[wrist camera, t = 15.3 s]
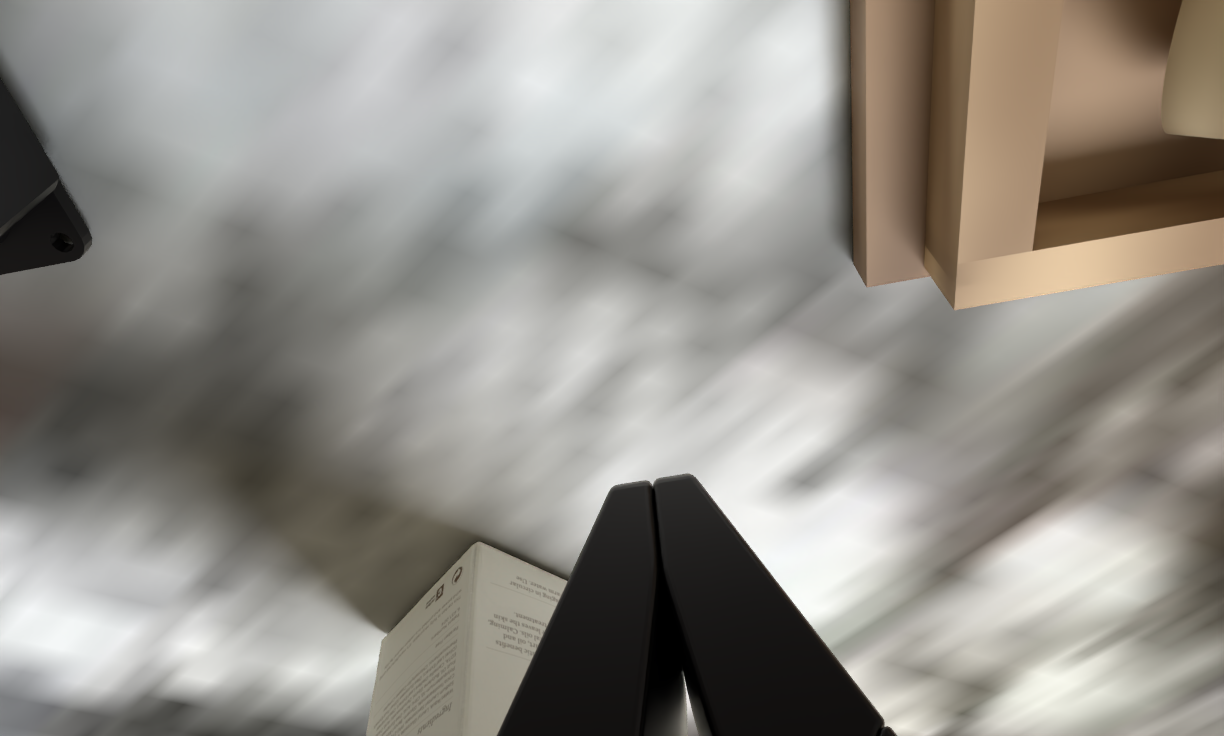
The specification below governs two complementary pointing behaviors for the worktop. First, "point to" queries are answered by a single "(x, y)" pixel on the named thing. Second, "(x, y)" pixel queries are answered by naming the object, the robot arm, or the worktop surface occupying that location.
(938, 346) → the worktop surface
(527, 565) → the skincare box
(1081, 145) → the cradle
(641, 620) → the robot arm
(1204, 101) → the peg
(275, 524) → the worktop surface
